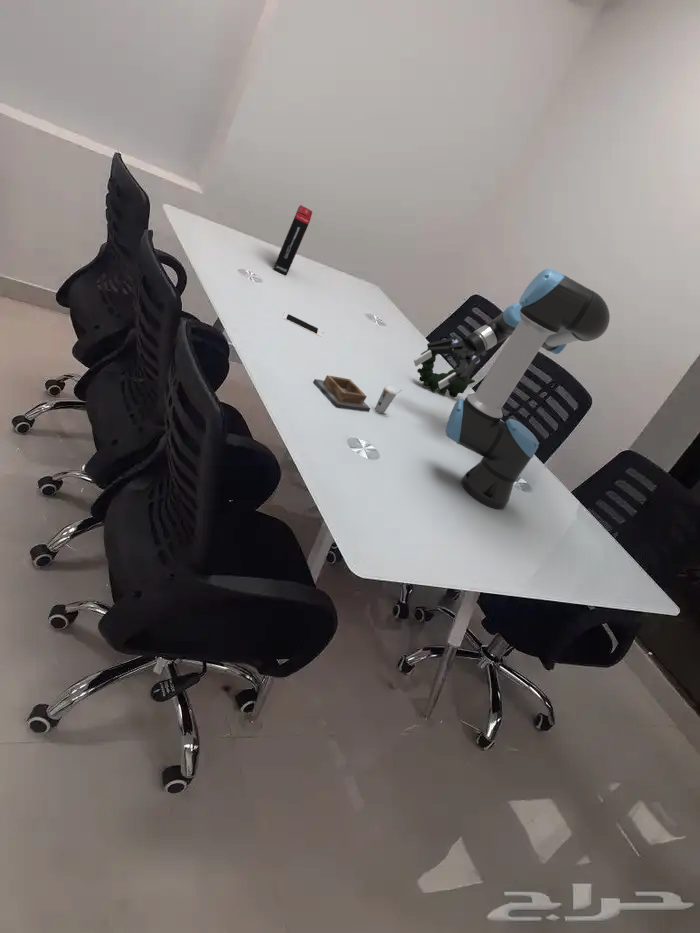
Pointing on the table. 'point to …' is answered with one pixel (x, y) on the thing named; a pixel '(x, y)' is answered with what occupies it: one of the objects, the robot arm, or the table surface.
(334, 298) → the table surface
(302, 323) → the cell phone
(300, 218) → the graphics card box
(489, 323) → the robot arm
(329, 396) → the socket board
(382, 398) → the milkshake
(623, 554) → the table surface
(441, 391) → the toy figurine
